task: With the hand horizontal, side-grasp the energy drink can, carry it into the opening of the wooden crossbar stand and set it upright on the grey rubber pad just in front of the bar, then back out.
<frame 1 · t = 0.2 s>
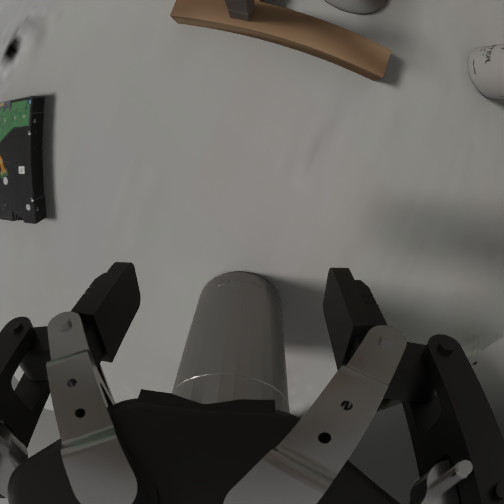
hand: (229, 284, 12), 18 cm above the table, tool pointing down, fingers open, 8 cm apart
disk drive: (18, 157, 27), on the table
energy drink can: (481, 73, 21), on the table
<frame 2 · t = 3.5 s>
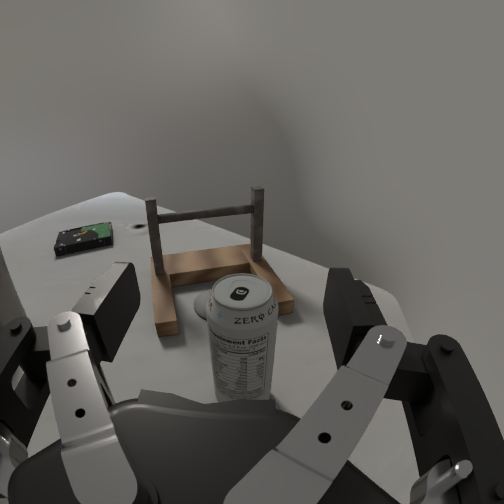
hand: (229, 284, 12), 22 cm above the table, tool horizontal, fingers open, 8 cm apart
disk drive: (85, 244, 65), on the table
energy drink can: (242, 397, 31), on the table
wooden crossbar stand: (214, 290, 49), on the table
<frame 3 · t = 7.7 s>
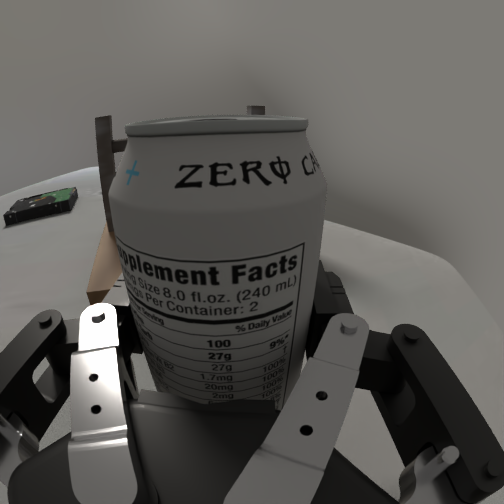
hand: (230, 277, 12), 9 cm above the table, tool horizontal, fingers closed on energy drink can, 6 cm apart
disk drive: (43, 212, 48), on the table
energy drink can: (231, 432, 14), on the table, touching gripper
wooden crossbar stand: (192, 252, 33), on the table
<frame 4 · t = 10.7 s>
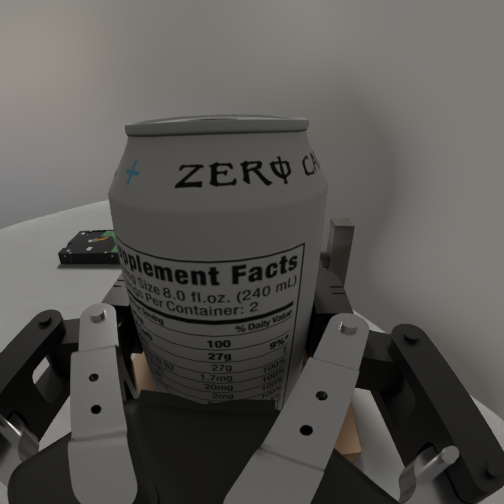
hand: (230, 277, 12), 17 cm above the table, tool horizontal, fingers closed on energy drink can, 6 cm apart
disk drive: (103, 253, 52), on the table
energy drink can: (231, 432, 14), point 9 cm above the table, touching gripper
wooden crossbar stand: (236, 386, 27), on the table
when the fingers open (10 cm above the table, at t = 14.1 s): energy drink can stays where it is, resting on wooden crossbar stand.
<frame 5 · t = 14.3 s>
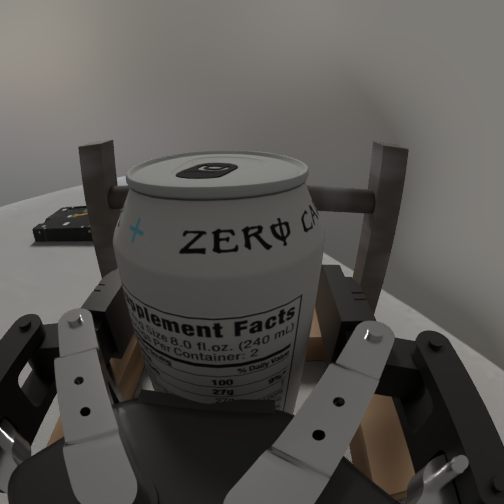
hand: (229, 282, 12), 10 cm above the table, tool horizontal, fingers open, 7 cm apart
disk drive: (83, 231, 44), on the table
energy drink can: (231, 443, 15), resting on wooden crossbar stand
wooden crossbar stand: (236, 392, 19), on the table
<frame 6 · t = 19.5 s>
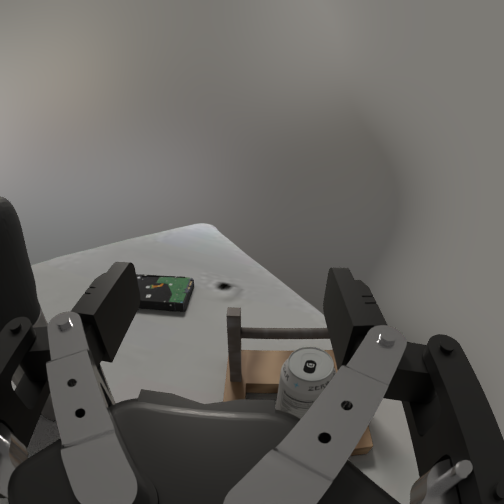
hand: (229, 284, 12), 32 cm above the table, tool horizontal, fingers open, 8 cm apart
disk drive: (158, 298, 65), on the table
energy drink can: (294, 431, 36), resting on wooden crossbar stand
wooden crossbar stand: (292, 408, 40), on the table
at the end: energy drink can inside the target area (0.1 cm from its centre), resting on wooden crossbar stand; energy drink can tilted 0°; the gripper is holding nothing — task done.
